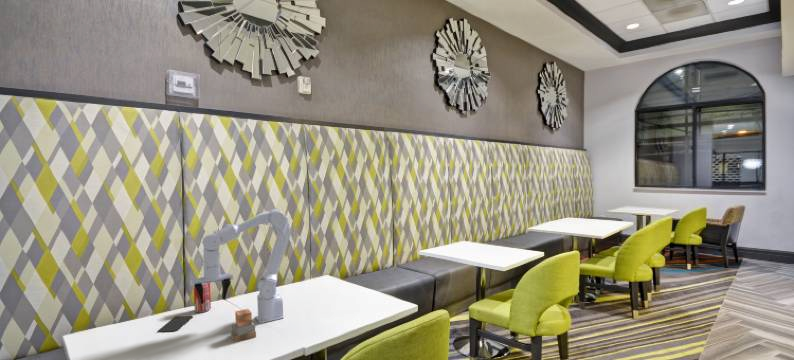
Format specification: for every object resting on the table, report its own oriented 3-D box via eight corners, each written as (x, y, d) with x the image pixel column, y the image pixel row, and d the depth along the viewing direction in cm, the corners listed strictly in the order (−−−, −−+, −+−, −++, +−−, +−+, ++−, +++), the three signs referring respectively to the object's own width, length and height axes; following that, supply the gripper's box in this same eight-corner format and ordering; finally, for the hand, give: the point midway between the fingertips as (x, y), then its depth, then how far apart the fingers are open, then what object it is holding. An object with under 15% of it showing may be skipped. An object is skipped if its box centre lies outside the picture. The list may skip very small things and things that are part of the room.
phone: (156, 331, 148) (175, 316, 163) (156, 333, 148) (175, 318, 163) (176, 330, 148) (193, 315, 163) (176, 332, 148) (194, 317, 163)
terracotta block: (248, 320, 146) (248, 308, 146) (251, 324, 142) (251, 312, 142) (235, 323, 144) (235, 311, 143) (238, 327, 140) (238, 315, 140)
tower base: (251, 331, 148) (251, 325, 148) (256, 338, 142) (255, 331, 142) (231, 336, 144) (231, 330, 144) (235, 343, 138) (235, 336, 138)
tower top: (248, 326, 147) (248, 319, 147) (255, 330, 143) (255, 324, 143) (232, 330, 143) (231, 324, 143) (238, 335, 139) (238, 328, 139)
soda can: (200, 314, 166) (199, 285, 165) (191, 311, 169) (190, 283, 169) (214, 309, 171) (213, 282, 171) (205, 306, 174) (204, 280, 174)
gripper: (192, 270, 143) (193, 308, 143) (234, 264, 151) (235, 299, 152) (189, 267, 149) (190, 302, 149) (230, 261, 157) (231, 295, 157)
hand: (213, 301), depth 151 cm, fingers open, 7 cm apart
